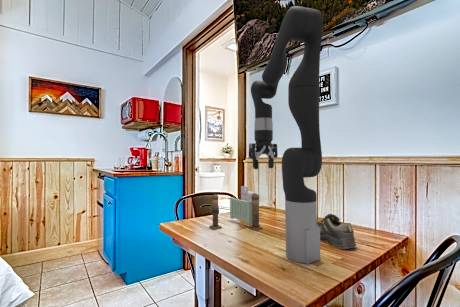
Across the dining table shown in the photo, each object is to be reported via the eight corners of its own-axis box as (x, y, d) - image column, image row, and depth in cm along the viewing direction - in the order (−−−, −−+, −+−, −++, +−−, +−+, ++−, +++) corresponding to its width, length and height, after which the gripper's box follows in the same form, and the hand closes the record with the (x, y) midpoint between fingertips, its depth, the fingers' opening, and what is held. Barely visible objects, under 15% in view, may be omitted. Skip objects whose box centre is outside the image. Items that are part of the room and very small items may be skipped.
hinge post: (262, 228, 108) (261, 193, 108) (255, 230, 105) (254, 194, 106) (256, 226, 111) (255, 192, 111) (249, 228, 109) (248, 193, 109)
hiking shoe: (323, 226, 104) (313, 202, 101) (367, 248, 84) (356, 219, 81) (307, 239, 101) (295, 215, 99) (348, 265, 82) (335, 236, 79)
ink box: (256, 214, 136) (256, 186, 137) (248, 215, 134) (248, 187, 135) (248, 211, 144) (248, 185, 144) (241, 212, 142) (240, 185, 142)
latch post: (221, 228, 109) (221, 194, 109) (213, 229, 107) (213, 195, 107) (216, 226, 112) (216, 193, 113) (209, 227, 110) (208, 194, 110)
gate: (252, 223, 111) (252, 201, 112) (249, 224, 110) (249, 201, 111) (232, 217, 124) (232, 197, 124) (230, 218, 123) (230, 197, 123)
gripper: (256, 128, 98) (256, 170, 98) (282, 129, 106) (282, 168, 106) (244, 129, 104) (244, 168, 104) (269, 130, 112) (269, 167, 113)
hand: (263, 168), depth 105 cm, fingers open, 8 cm apart
